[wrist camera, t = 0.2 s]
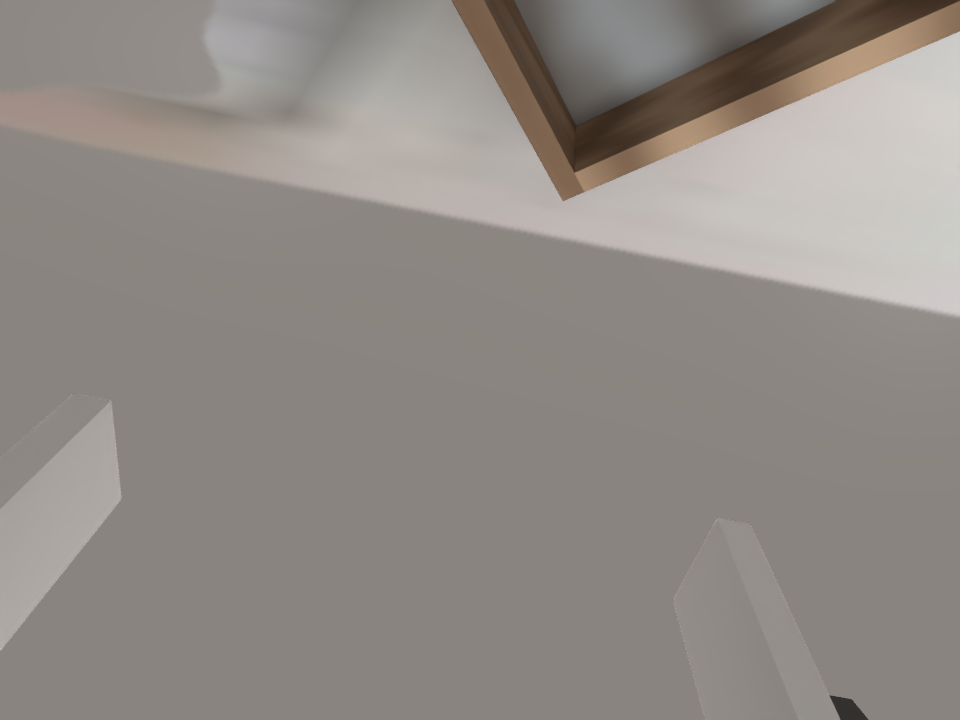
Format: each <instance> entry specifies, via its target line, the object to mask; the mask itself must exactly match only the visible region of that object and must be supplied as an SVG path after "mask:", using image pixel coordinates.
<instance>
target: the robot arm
mask: <svg viewBox="0 0 960 720" xmlns="http://www.w3.org/2000/svg"><path fill="white" fill-rule="evenodd" d="M120 500H121V490H120V479H119V470H118V460H117V451H116V441H115V433H114V422H113V413H112V403H111V400H106V399H101V398H96V397H91V396H85V395H80V394H75V393H73V394H72V395H71V396H70V397H69V398H67V399H66V400H65V401H64V402H63V403H62V404H61V405H60V406H58V407H57V408H56V409H55V410H54V411H53V412H51V413H50V414H49V415H48V416H47V417H46V418H45V419H43V420H42V421H41V422H40V423H39V424H38V425H37V426H36V427H34V428H33V429H32V430H31V431H30V432H29V433H28V434H26V435H25V436H24V437H23V438H22V439H21V440H20V441H18V442H17V443H16V444H15V445H14V446H13V447H12V448H10V449H9V450H8V451H7V452H6V453H5V454H4V455H3V456H1V457H0V651H1V650H2V648H3V647H4V646H5V645H6V643H7V642H8V641H9V639H10V638H11V637H12V636H13V635H14V633H15V632H16V630H18V628H19V627H20V626H21V625H22V623H23V622H24V621H25V620H26V618H27V617H28V616H29V614H30V613H31V612H32V611H33V610H34V608H35V607H36V606H37V604H38V603H39V602H40V601H41V599H42V598H43V597H44V596H45V594H46V593H47V592H48V591H49V589H50V588H51V587H52V586H53V584H54V583H55V582H56V580H57V579H58V578H59V577H60V576H61V574H62V573H63V572H64V571H65V569H66V568H67V567H68V566H69V564H70V563H71V562H72V560H73V559H74V558H75V557H76V555H77V554H78V553H79V552H80V550H81V549H82V548H83V547H84V545H85V544H86V543H87V542H88V540H89V539H90V538H91V537H92V535H93V534H94V533H95V532H96V530H97V529H98V528H99V526H100V525H101V524H102V523H103V522H104V520H105V519H106V518H107V517H108V515H109V514H110V513H111V511H112V510H113V509H114V508H115V506H116V505H117V504H118V503H119V501H120ZM673 604H674V607H675V611H676V615H677V618H678V622H679V626H680V630H681V634H682V637H683V641H684V645H685V648H686V652H687V656H688V659H689V663H690V667H691V670H692V674H693V678H694V682H695V685H696V689H697V693H698V696H699V700H700V704H701V708H702V711H703V715H704V719H705V720H868V719H867V718H866V716H865V715H864V714H863V713H862V711H861V710H860V709H859V708H858V707H857V705H856V704H855V703H854V702H853V700H851V699H847V698H841V697H836V696H830V695H829V694H828V692H827V689H826V687H825V685H824V683H823V681H822V679H821V676H820V674H819V672H818V670H817V668H816V666H815V663H814V661H813V659H812V657H811V655H810V652H809V650H808V648H807V646H806V644H805V642H804V639H803V638H802V635H801V633H800V631H799V629H798V626H797V624H796V622H795V620H794V618H793V616H792V614H791V611H790V609H789V607H788V605H787V603H786V600H785V598H784V596H783V594H782V592H781V590H780V587H779V585H778V583H777V581H776V579H775V577H774V574H773V572H772V570H771V568H770V566H769V564H768V561H767V559H766V557H765V555H764V553H763V551H762V548H761V546H760V544H759V542H758V540H757V538H756V536H755V533H754V531H753V529H752V527H751V525H750V524H747V523H742V522H737V521H732V520H726V519H721V518H717V519H716V521H715V523H714V525H713V527H712V528H711V530H710V532H709V534H708V536H707V537H706V539H705V541H704V543H703V545H702V547H701V549H700V550H699V552H698V554H697V556H696V558H695V560H694V561H693V563H692V565H691V567H690V569H689V571H688V573H687V575H686V576H685V578H684V580H683V582H682V584H681V585H680V587H679V589H678V591H677V593H676V595H675V597H674V599H673Z"/></svg>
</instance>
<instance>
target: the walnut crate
mask: <svg viewBox="0 0 960 720" xmlns="http://www.w3.org/2000/svg"><path fill="white" fill-rule="evenodd" d="M452 2H453V4H454V6H455V7H456V9H457V11H458V13H459V15H460V16H461V18H462V20H463V22H464V24H465V25H466V27H467V29H468V31H469V33H470V34H471V36H472V38H473V40H474V42H475V43H476V45H477V47H478V49H479V51H480V52H481V54H482V56H483V58H484V60H485V61H486V63H487V65H488V67H489V69H490V70H491V72H492V74H493V76H494V78H495V79H496V81H497V83H498V85H499V87H500V88H501V90H502V92H503V94H504V96H505V97H506V99H507V101H508V103H509V105H510V107H511V108H512V110H513V112H514V114H515V116H516V117H517V119H518V121H519V123H520V125H521V126H522V128H523V130H524V132H525V134H526V135H527V137H528V139H529V141H530V143H531V144H532V146H533V148H534V150H535V152H536V153H537V155H538V157H539V159H540V161H541V162H542V164H543V166H544V168H545V170H546V171H547V173H548V175H549V177H550V179H551V180H552V182H553V184H554V186H555V188H556V189H557V191H558V193H559V195H560V197H561V198H562V200H563V201H564V200H567V199H569V198H571V197H574V196H576V195H578V194H581V193H583V192H585V191H588V190H590V189H592V188H595V187H597V186H599V185H602V184H604V183H606V182H609V181H611V180H613V179H616V178H618V177H620V176H623V175H625V174H627V173H630V172H632V171H634V170H637V169H639V168H641V167H644V166H646V165H648V164H651V163H653V162H655V161H658V160H660V159H662V158H665V157H667V156H669V155H672V154H674V153H676V152H679V151H681V150H683V149H686V148H688V147H690V146H693V145H695V144H698V143H700V142H702V141H705V140H707V139H709V138H712V137H714V136H716V135H719V134H721V133H723V132H726V131H728V130H730V129H733V128H735V127H737V126H740V125H742V124H744V123H747V122H749V121H751V120H754V119H756V118H758V117H761V116H763V115H765V114H768V113H770V112H772V111H775V110H777V109H779V108H782V107H784V106H786V105H789V104H791V103H793V102H796V101H798V100H800V99H803V98H805V97H807V96H810V95H812V94H814V93H817V92H819V91H821V90H824V89H826V88H828V87H831V86H833V85H835V84H838V83H840V82H842V81H845V80H847V79H849V78H852V77H854V76H856V75H859V74H861V73H863V72H866V71H868V70H870V69H873V68H875V67H877V66H880V65H882V64H884V63H887V62H889V61H891V60H894V59H896V58H898V57H901V56H903V55H905V54H908V53H910V52H912V51H915V50H917V49H919V48H922V47H924V46H926V45H929V44H931V43H933V42H936V41H938V40H940V39H943V38H945V37H947V36H950V35H952V34H954V33H957V32H959V31H960V0H452Z"/></svg>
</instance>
